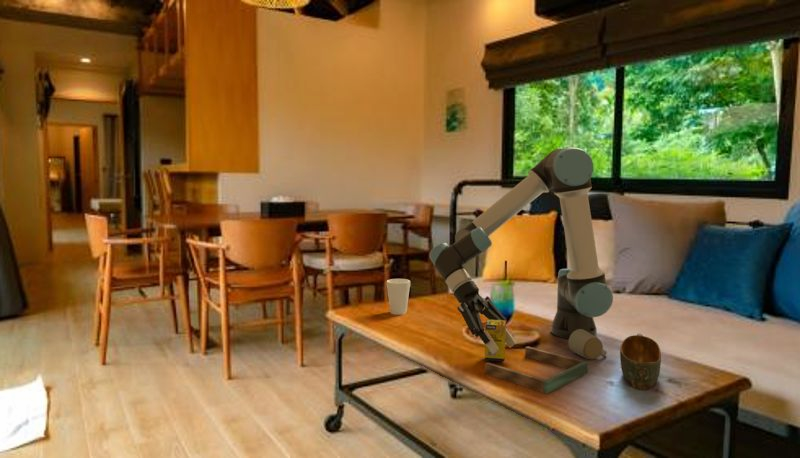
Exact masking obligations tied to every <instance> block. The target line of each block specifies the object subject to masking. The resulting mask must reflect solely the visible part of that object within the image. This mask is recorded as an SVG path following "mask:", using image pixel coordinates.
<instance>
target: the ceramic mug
mask: <svg viewBox="0 0 800 458" xmlns="http://www.w3.org/2000/svg"><path fill="white" fill-rule="evenodd" d="M568 347H569V350H571V352H573V353H575V354H577V355H579V356H580V357H582V358H584V359H586V360H592V361H593V360H596V359H598V358H599V357H600V356H603V357H606V355H607V353H608V351H607V350H605V349H604V345H603V342H602V341H601V339H600V338H598V337H597V335H596V336H594V335H592V334H590V333H589V332H587V331H585V330H583V329H578V330H575V331H574V332H573V333H572V334H571V335H570V337H569V339H568Z"/></svg>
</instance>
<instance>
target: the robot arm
mask: <svg viewBox="0 0 800 458" xmlns="http://www.w3.org/2000/svg"><path fill="white" fill-rule="evenodd" d="M594 167H595V166H594V162H593V159H592V157H591V155H590V154H589V153H588V152H587V151H585V150H584V149H582V148H579V147H574V146H569V147H564V148H558V149H554V150H552V151H550V152H549V153H547V155H546V156H544V157H543V158H542V159H541V160H540V161H539V162H538V163H537V164H536V165H535V166H533V167H532V168H531V169H530V170H528V175H527V176H526V177H525V178H524V179H522V180H521V181H520V182H519V183H517V184H516V185H515V186H514V187H513V188H512V189H510V190H509V191H507V193H505V194H504V195H503V196H502V197H500V198H499V199H498V200H497V201H496V202H495V203H493V204H491V206H490V207H488V208H487V209H486V210H485V211H483V212H482V213H481V214H479V215H478V216H477V217H476V218H474V220H472V222H471V223H469V224H468V225H467V226H465V227H463V228H460V229H459V230H458V231H457V232H456V233H455V238H454V239H455V242H453V244H450V245H449V244H448V243H447V242H441V243H440V244H436V245H435V246H434V247H432V248H431V250H430V252H429V253H428V254H429V255H428V257H429V259H430V261H431V263H432V264H433V266H434V268H435V269H436V270H437V272H438V273H439V275H440V276H441V278H442V280H443V281H444V282H445V284H446V285H447V286H448V288H449V290H450V291H451V293H453V296H454V297H455V299H456V300H457V302H458V303H459V306H457V311H458V312H459V313H460V314H461V316H462V318H463V319H464V320H463V321H464V322H465V325H467V328H468V330H469V332H470V334H471V335H473V336H474V337H476V338H480V340H481V342H483V344H484V345H485V344H486V346H487V347H488V349H489V350H490V352H491V353H492V355H493V354H494V353H496V352H497V351H498V350H499V348H498V346H497V345H496V343H495V342H494V340H493V339H492V337H491V336H490V334H489V333H488V331H487V330H486V331H485V327H484V324H483V322H482V319H481V316H480V315H483V316H484V317H485V318H486V319H489V320H505V321H506V323H507V322H508V320H507V318H506V317H505V316H504V315H503V313H502V312H501V311H500V310H499V308H498V307H497V306H496V305H495V304H494V303H493V301H492V300H491V298H490V296H489V295H488V296H486V297H482V295H480V294H479V292H480V289H479V287H478V286H477V285H476V282H474V280H473V279H472V277H471V275H470V274H469V273H468V272H467V270H466V268H465V267H464V265H466V264H467V263H469V262H470V261H472V260H473V259H474V258H477V257H478V256H479V255H481V254H482V253H484V252H486V250H488V249H489V248H490V247H492V244H493V243H492V240H491V239H490V236H492V234H494V233H495V232H496V231H497V230H499V229H500V228H501V227H503V226H504V225H505V224H506V223H507V222H508V221H509V220H510V221H511V219H512V218H514V217H515V216H516V215H517V214H518V213H520V212H521V211H522V210H523V209H525V208H526V207H527V206H529V204H530V203H532V202H533V201H534V200H536V199H537V198H538V197H539V196H540V195H542V194H543V193H549V192H550V191H552V190H553V194H554V195H555V196H557V197H558V198H559V203H560V204H559V205H560V209H561V216H562V223H563V228H564V236H565V242H566V248H567V254H568V262H569V266H570V268H561V269H559V271H558V272H557V275H558V276H557V298H556V299H557V303H556V307H557V308H556V312H555V315H554V318H553V321H552V324H551V331H550V332H551V333H552V334H553V335H555V336H557V337H559V338H563V339H568V340H569V337H570V335H571V334H572V333H573V332H574V331H575V330H578V329H583V330H585V331H587V332H589V333H590V334H592V335H594V336H596V337H597V334H598V333H597V327H596V322H595V319H594V318H598V317H601V316H603V315H605V314H606V313H608V311H609V310H610V309H611V307H612V305H613V301H614V296H613V292H612V290H611V288H610V287H609V286H608V285H607V281H606V275H605V270H603V269H602V268H601V267H599V261H598V253H597V247H596V241H595V234H594V229H593V228H594V227H593V221H592V214H591V208H590V202H589V194H588V193H589V191H590V190H591V189H592V188H593V187H592V180H591V177H592V176H593V173H594ZM516 343H517V341H516V340H515V338H514V337H513V336H512V334H511V332H510V330H509V329H508V328H507V326H506V334H505V344H506V345H507V347H508V348H509V349H510V348H512V347H513V346H514V345H516Z"/></svg>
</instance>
